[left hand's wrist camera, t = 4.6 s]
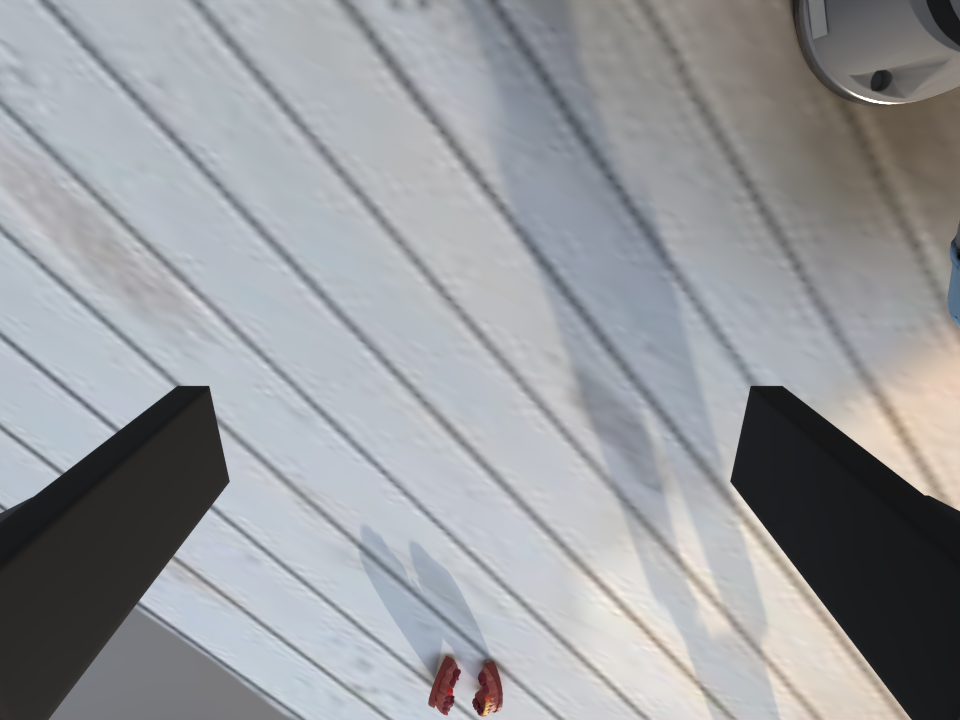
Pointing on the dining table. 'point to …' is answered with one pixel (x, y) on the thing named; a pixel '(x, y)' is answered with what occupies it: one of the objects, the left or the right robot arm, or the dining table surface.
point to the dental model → (484, 699)
